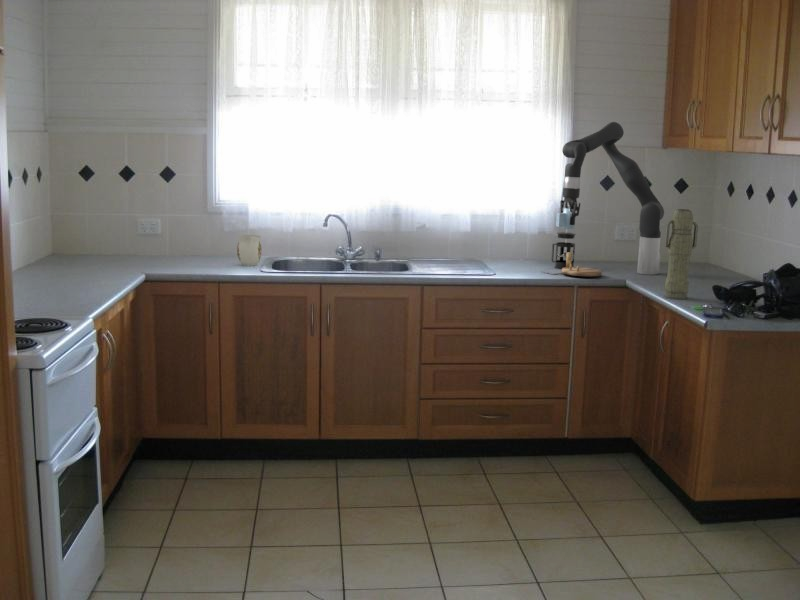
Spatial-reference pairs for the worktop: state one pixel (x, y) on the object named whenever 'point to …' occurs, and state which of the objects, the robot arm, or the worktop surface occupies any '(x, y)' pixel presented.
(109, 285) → the worktop surface
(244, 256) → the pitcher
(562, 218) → the pale blue carafe
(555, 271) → the slate mat
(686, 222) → the thermos
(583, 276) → the turntable base
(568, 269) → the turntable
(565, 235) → the french press
